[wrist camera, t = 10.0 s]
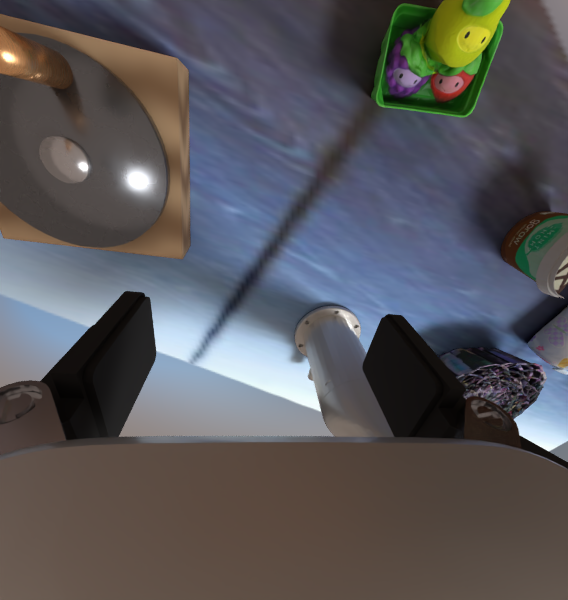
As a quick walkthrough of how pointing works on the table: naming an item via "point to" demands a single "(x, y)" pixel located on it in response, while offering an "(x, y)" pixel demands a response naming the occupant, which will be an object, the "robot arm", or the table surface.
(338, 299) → the table surface
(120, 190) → the handwheel
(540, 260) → the food container
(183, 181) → the block
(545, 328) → the pencil case
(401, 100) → the fruit basket
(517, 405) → the decorative bowl
